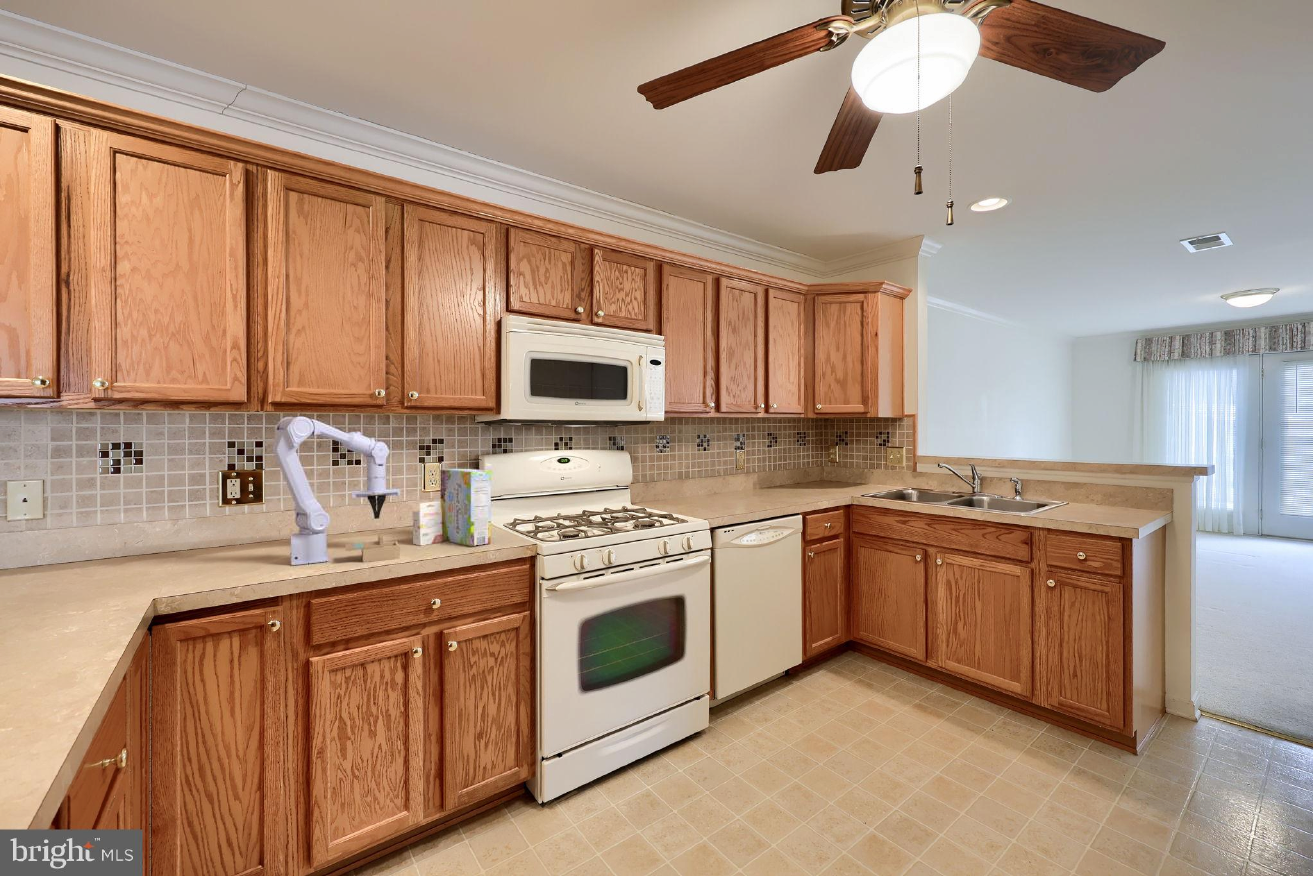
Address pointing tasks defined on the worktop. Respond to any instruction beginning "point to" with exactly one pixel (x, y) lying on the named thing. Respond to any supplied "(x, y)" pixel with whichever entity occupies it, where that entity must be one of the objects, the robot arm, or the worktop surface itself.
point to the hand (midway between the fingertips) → (376, 518)
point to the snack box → (466, 506)
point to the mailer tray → (381, 552)
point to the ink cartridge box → (427, 524)
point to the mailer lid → (365, 544)
